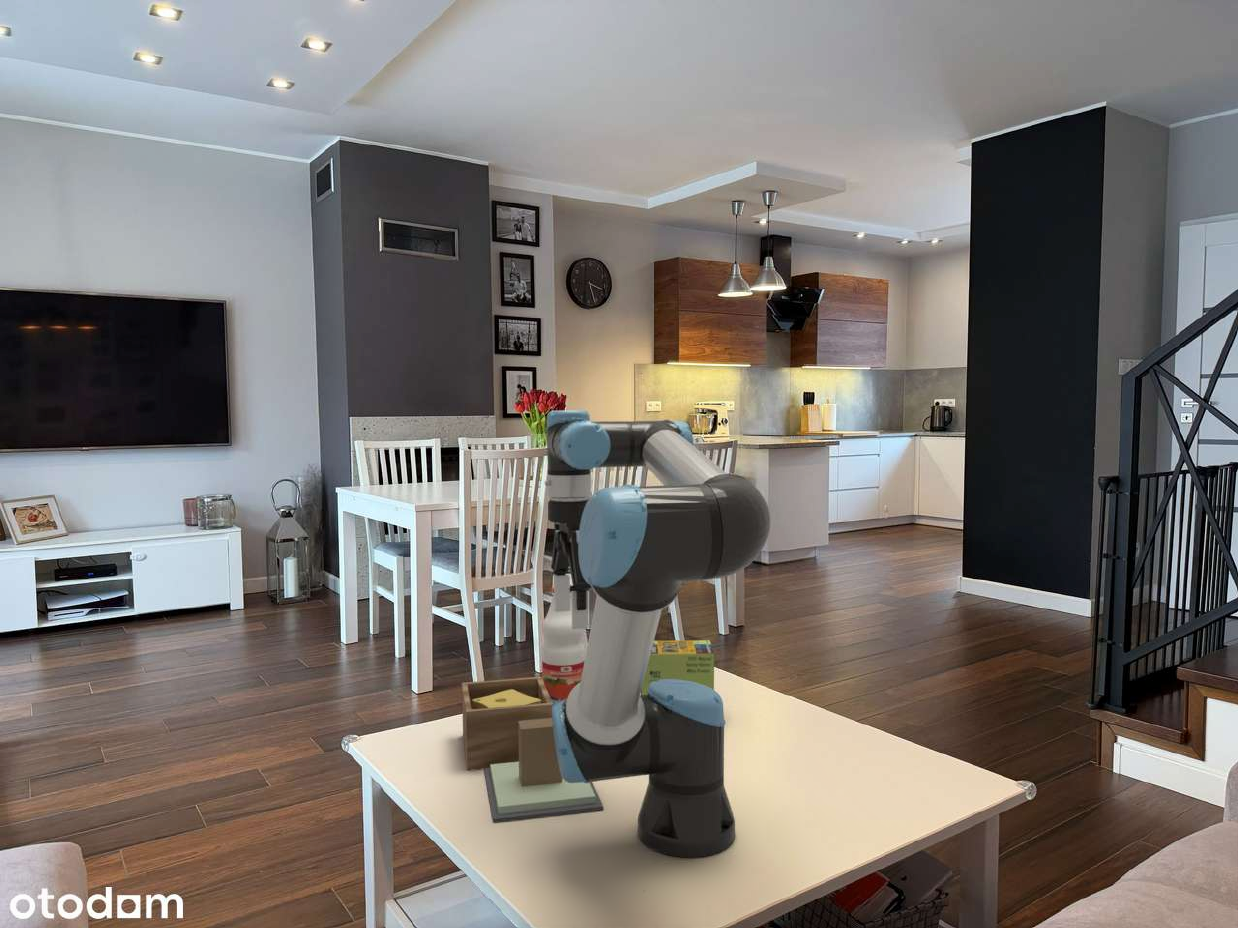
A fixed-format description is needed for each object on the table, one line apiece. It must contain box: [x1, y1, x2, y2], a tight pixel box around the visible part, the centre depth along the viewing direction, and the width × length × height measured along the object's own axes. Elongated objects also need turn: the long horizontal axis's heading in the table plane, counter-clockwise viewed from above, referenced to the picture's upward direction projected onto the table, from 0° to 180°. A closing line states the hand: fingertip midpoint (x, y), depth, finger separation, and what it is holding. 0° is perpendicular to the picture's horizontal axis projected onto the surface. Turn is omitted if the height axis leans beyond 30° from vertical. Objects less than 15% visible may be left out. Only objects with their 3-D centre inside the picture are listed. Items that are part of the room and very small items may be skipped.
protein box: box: [640, 639, 715, 695], centre depth 182 cm, size 10×15×16 cm
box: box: [461, 676, 553, 771], centre depth 166 cm, size 17×16×11 cm
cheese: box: [471, 689, 542, 709], centre depth 166 cm, size 10×11×10 cm
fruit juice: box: [541, 584, 586, 705], centre depth 184 cm, size 9×9×28 cm
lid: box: [490, 718, 595, 814], centre depth 148 cm, size 17×16×11 cm
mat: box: [483, 767, 604, 823], centre depth 148 cm, size 20×18×1 cm
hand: (570, 619), depth 150 cm, fingers open, 13 cm apart
